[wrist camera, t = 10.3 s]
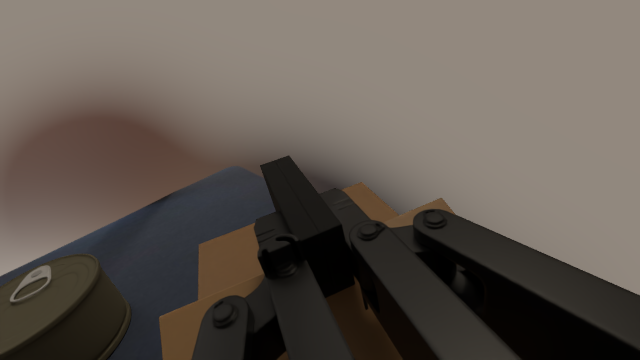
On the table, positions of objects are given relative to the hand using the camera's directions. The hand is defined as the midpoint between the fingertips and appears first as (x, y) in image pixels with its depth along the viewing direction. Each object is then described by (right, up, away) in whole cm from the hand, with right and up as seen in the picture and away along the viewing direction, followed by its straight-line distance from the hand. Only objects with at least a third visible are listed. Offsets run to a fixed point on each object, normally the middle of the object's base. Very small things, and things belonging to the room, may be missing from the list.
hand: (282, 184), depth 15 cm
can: (-23, -17, +15) cm, 32 cm away
